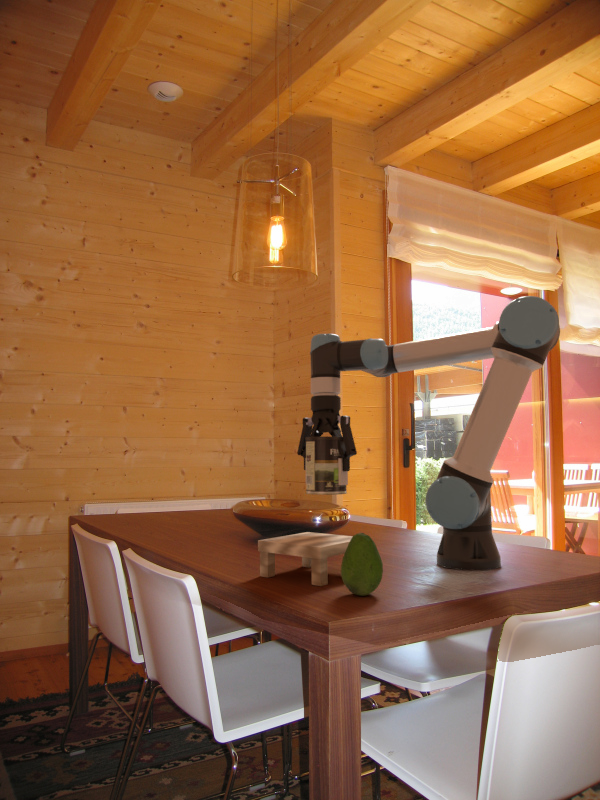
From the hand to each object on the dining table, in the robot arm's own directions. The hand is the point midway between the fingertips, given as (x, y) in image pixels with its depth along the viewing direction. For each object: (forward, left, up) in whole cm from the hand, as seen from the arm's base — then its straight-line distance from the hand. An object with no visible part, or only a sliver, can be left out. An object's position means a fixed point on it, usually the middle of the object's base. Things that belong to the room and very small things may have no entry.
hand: (326, 484), depth 153 cm
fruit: (-24, +21, -20) cm, 38 cm away
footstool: (-4, +11, -20) cm, 23 cm away
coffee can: (0, 0, -3) cm, 3 cm away
